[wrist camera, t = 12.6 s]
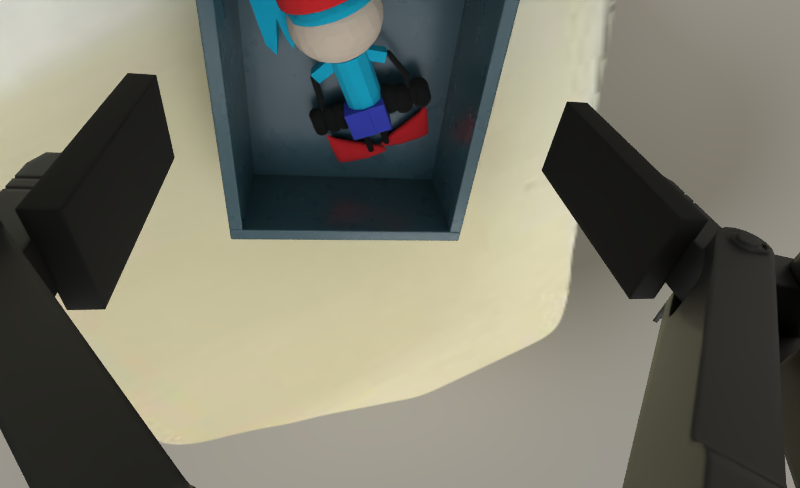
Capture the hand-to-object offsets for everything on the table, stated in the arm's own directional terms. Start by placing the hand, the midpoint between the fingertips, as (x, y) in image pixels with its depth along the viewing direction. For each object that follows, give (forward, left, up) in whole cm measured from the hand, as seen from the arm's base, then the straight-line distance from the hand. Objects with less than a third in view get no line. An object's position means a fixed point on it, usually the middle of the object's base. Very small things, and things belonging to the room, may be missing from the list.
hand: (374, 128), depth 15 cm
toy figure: (+1, -1, -13) cm, 13 cm away
